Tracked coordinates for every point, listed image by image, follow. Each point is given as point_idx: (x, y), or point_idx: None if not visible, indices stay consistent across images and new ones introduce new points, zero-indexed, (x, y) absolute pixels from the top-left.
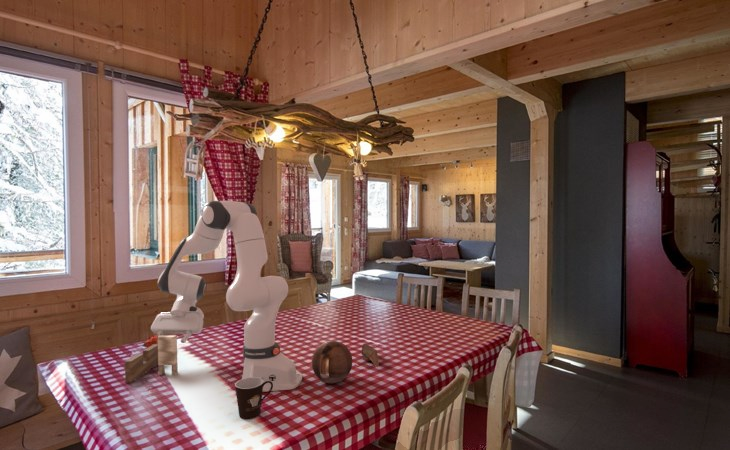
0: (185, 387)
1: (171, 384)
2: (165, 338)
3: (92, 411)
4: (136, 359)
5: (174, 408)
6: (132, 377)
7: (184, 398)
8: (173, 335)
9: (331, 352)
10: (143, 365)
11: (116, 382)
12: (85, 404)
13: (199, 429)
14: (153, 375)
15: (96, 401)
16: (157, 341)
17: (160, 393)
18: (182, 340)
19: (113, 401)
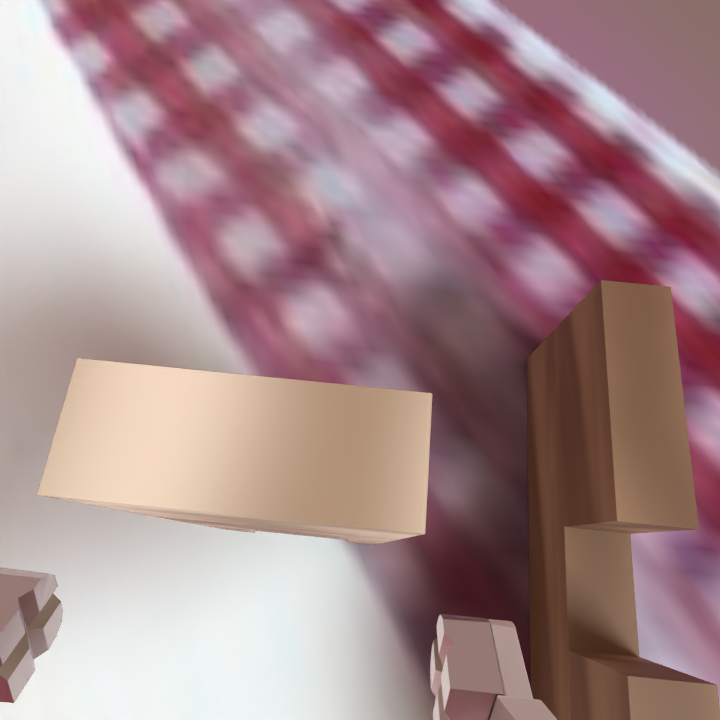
0: (91, 235)
1: (205, 292)
2: (263, 384)
3: (509, 26)
4: (599, 377)
5: (98, 10)
6: (537, 357)
7: (67, 98)
8: (113, 493)
9: None
10: (558, 527)
11: None
12: (605, 93)
13: None
14: None
15: (569, 118)
16: (508, 621)
17: (234, 170)
18: (6, 573)
19: (470, 108)
